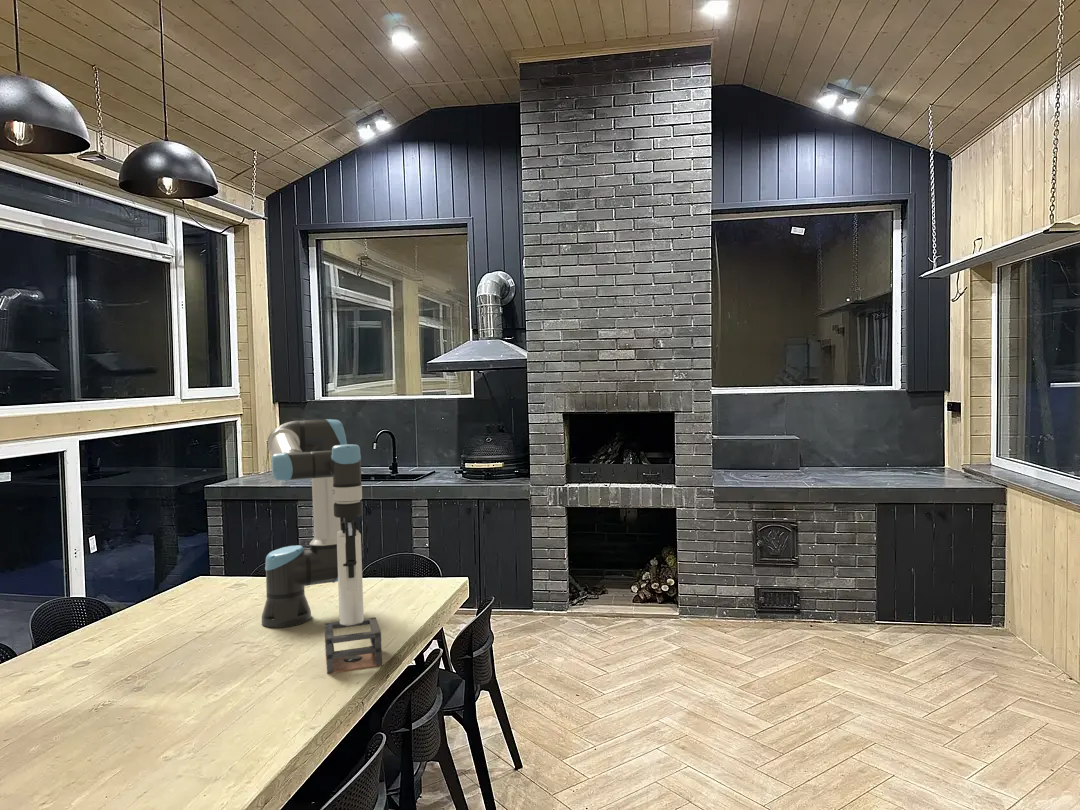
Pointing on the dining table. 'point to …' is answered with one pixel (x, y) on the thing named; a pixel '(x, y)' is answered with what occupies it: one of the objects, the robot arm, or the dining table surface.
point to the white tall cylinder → (348, 599)
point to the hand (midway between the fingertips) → (350, 586)
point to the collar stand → (353, 657)
